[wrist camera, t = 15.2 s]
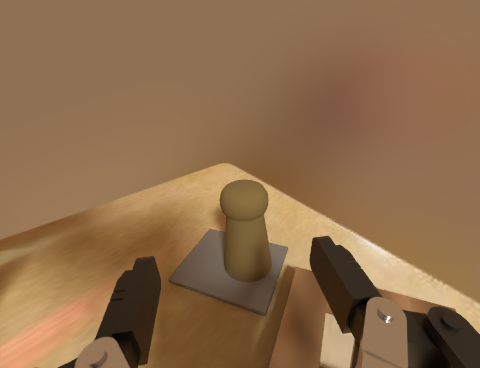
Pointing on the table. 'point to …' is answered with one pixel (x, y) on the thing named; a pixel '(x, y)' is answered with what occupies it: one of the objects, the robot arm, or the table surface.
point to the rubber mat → (219, 282)
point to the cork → (245, 231)
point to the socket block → (316, 321)
